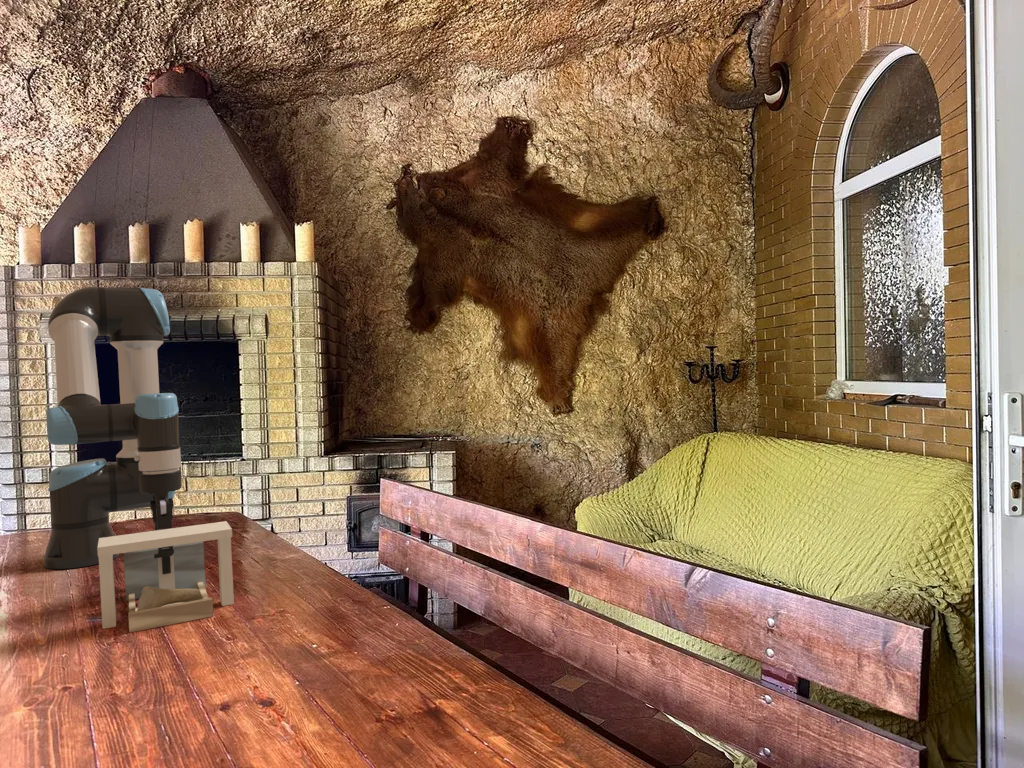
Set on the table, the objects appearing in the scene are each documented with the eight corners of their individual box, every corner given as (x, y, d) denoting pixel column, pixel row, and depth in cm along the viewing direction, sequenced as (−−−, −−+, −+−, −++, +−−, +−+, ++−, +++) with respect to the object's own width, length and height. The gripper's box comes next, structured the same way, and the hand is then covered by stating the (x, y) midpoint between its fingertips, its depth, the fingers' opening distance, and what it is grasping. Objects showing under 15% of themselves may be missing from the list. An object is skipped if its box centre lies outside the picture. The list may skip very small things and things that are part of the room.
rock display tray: (126, 595, 136) (123, 549, 135) (203, 582, 143) (201, 538, 142) (125, 633, 115) (123, 579, 115) (216, 615, 122) (213, 565, 122)
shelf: (103, 619, 123) (99, 538, 122) (230, 596, 133) (226, 521, 132) (102, 633, 116) (97, 547, 115) (235, 607, 126) (231, 528, 125)
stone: (140, 622, 119) (139, 595, 119) (125, 616, 123) (123, 589, 123) (204, 603, 128) (203, 577, 128) (188, 598, 132) (186, 572, 132)
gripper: (137, 466, 145) (143, 572, 145) (139, 480, 125) (145, 602, 126) (177, 463, 148) (182, 565, 149) (185, 475, 129) (191, 594, 129)
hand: (165, 582), depth 137 cm, fingers open, 10 cm apart
